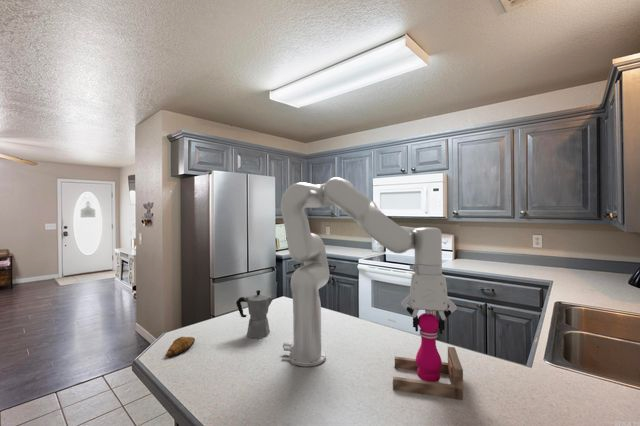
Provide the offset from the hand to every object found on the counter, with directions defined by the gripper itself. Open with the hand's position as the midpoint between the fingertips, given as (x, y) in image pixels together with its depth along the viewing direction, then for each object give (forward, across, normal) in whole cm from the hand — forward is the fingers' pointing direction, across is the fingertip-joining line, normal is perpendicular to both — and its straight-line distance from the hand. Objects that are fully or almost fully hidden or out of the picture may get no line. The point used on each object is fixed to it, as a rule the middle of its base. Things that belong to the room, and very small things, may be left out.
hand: (428, 330), depth 89 cm
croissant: (+16, -85, -2) cm, 87 cm away
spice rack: (+15, -1, 0) cm, 15 cm away
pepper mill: (+14, 0, 0) cm, 14 cm away
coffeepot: (+15, -66, +18) cm, 70 cm away
